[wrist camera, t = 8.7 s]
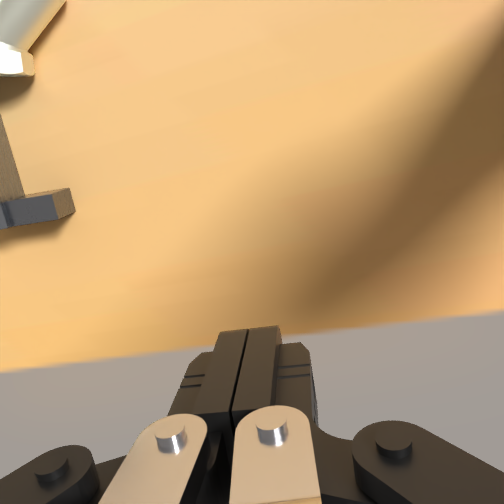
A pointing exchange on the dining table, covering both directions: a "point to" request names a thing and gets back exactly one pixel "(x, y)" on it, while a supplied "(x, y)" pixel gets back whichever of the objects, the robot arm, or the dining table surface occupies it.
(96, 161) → the dining table surface
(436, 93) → the dining table surface
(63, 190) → the stop bracket
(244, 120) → the dining table surface
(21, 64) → the pipe fitting
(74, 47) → the dining table surface
